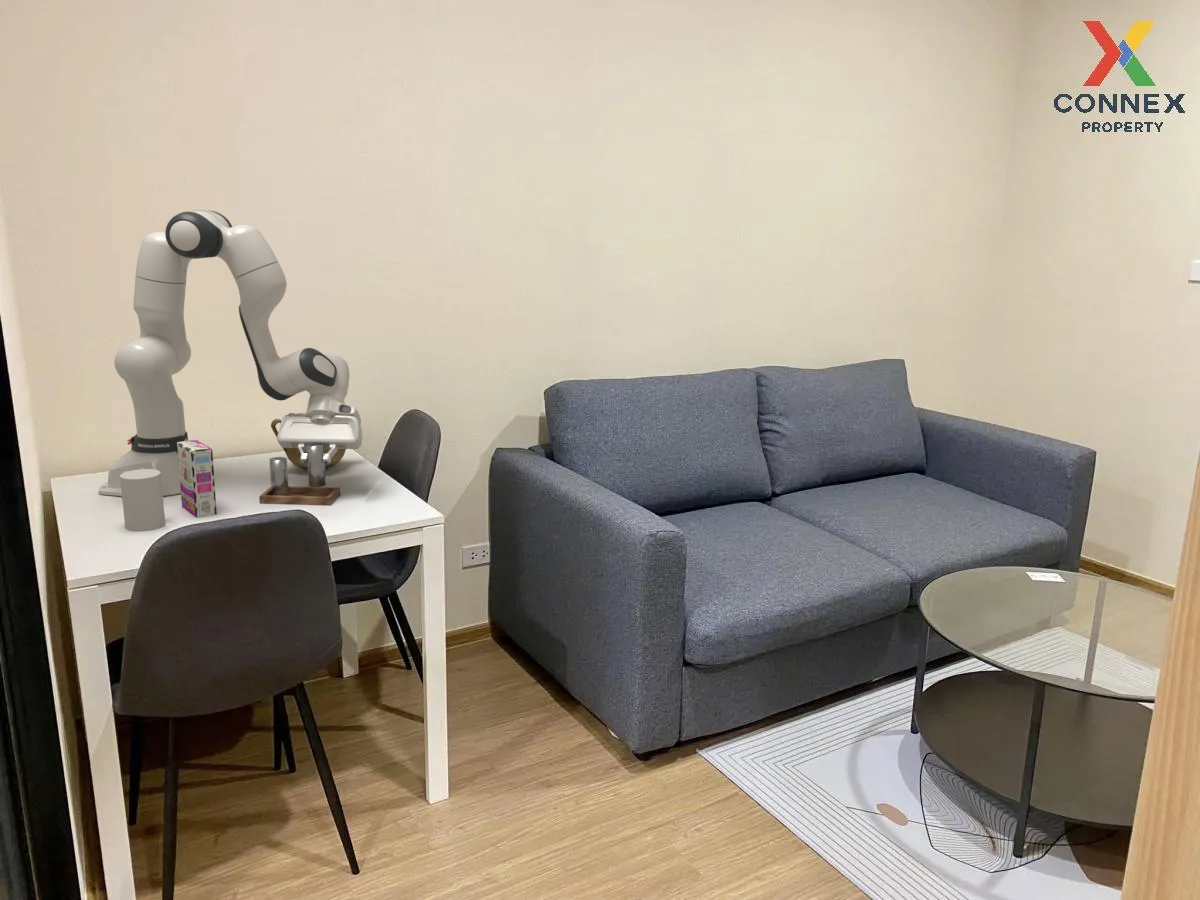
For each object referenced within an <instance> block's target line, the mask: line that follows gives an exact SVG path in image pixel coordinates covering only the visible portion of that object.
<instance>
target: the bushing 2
mask: <svg viewBox="0 0 1200 900" xmlns="http://www.w3.org/2000/svg"><path fill="white" fill-rule="evenodd" d="M306 448H307V464H308V471H307V479H308V487H326V484H327V482H326V480H327V479H326V470H325V463H324V462H323V455H324V445H323V444H320V443H314V444H308V445H306Z"/></svg>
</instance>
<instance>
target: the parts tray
mask: <svg viewBox="0 0 1200 900" xmlns="http://www.w3.org/2000/svg"><path fill="white" fill-rule="evenodd" d="M288 488H289V496H275V495H272V492H271V486H270V487H269V488H268V489H266V490H265V491H264V492H263V493H262V494H260V495H259V496H258V497H259V498H258V499H259V504H261V505H262V504H263V505H291V506H292V505H295V506H298V505H299V506H326V507H327V506H328V507H329V506H331V505H332V504H333V503H334V502H335V501H336V500H337V499H338V498H339V497H340V496H341V487H336V486H335V487H333V486H332V487H331V486H322V487H310V486H297V485H292V486H291V485H288Z"/></svg>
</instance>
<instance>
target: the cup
mask: <svg viewBox="0 0 1200 900" xmlns="http://www.w3.org/2000/svg"><path fill="white" fill-rule="evenodd" d="M120 483H121V492H122V496H121V499H122V508H123V509H122V510H123V518H124V528H125V530H127V531H130V532H147V531H153V530H154V531H155V530H157V529H160V528H163V527H164V526H165V525H166V517H165V506H164V496H163V493H162V483H161V472H160V471H158V470H154V469H139V470H132V471H128V472H124V473H122V474H121V475H120Z"/></svg>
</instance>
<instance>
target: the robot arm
mask: <svg viewBox="0 0 1200 900" xmlns="http://www.w3.org/2000/svg"><path fill="white" fill-rule="evenodd" d="M216 257H218V258H219V259H222V261H224V263H225V264H226V265H227V267H228V268H229V271H230V273H231V275H232V277H233V279H234V281H235V283H236V286H237V289H238V292H239V300H240V303H239V305H238V314H239V319H240V322H241V325H242V328H243V332H244V334H245V337H246V340H247V342H248V346H249V348H250V352H251V354H252V358H253V360H254V363H255V367H256V371H257V378H258V383H259V387H260V388H261V390H262V392H264V393H265V394H266V395H267V396H268V397H269V398H272V399H274V400H276V401H281V402H282V401H286V400H287V399H290V398H292V397H293V396H296V395H297V394H300V393H303V392H307V393H309V397H308V398H309V399H308V401H307V408H306V412H305V413H304V412H299V413H294V412H291V413H288V414H286V415H284V416H282V417H281V420H282V421H281V423H280V427H279V430H278V435H277V437H276V440H277V442H278V444H279V445H280V447H281V448H282V447H283V448H299V450H300V452H301V458H300V460H301V462H302V463H307V454H304V451H306V449H307V448H306V445H308V444H314V443H320V444H323V445H324V449H330V451H329V452H328V453H327V454H324V455H323V462H324V463H330V462H331V458H332V457H333V456H334V455H335V454H336V453H337V449H346V450H359V448H361V447H362V443H363V429H362V426H361V425H362V418H361V416H360V413H359V411H358V409H357V407H355V406H352V405H350V404H346V403H345V399H346V397H347V394H348V392H349V391H348V390H349V386H350V384H349V383H350V368H349V364H348V362H347V361H346V360H345V358H343V357H341V356H340V355H337V354H334V353H328V354H324V353H322V352H321V351H320V350H318V349H316V348H313V347H306V348H302V349H300V350H297V351H294V352H292V353H290V354H288V355H285V356H282V357H280V356H279V355H278V352H277V349H276V346H275V343H274V341H273V337H272V335H271V332H270V328H269V327H270V326H269V320H270V317H271V316H272V315H271V314H272V313H273V312H274V310H275V308H276V307H277V306H278V305H279V304H280V303H281V302H282V300H283V298H284V296H285V294H286V291H287V290H286V289H287V279H286V276H285V272H284V271H283V268H282V266H281V265H280V263H279V260H278V258H277V256H276V255H275V252H274V251H273V249H272V247H271V246H270V244H269V243H268V241H267V240H266V238H265V237H264V235H263V234H262V233H261V232H260V229H258V228H257V227H256V226H253V225H251V224H238V225H235V226H232V223H231V222H230V220H229V219H228V218H227V217H225V215H223V214H221V213H219V212H218V211H216V210H215V211H214V210H207V209H206V210H205V209H195V210H191V211H182V212H180V213H177V214H176V215H174V216H172V217H171V219H170V220H169V221H168V222H167V225H166V228H165V231H154V232H150V233H148V234H146V235H145V236H144V237H143V239H142V242H141V245H140V248H139V252H138V257H137V262H136V268H135V278H134V279H135V281H134V291H133V303H132V304H133V305H132V307H133V310H134V311H135V313H136V315H137V318H138V323H139V330H140V331H139V332H140V335H139V337H138V338H135V339H131V340H129V341H127V342H126V343H125V344H124V345H123V346H122V347H120V348H119V350H118V351H117V352H116V354H115V356H114V360H113V361H114V368H115V370H116V373H117V374H118V375H119V376H120V378H121V379H122V380H123V381H124V382H125V384H126V386H127V389H128V392H129V395H130V398H131V400H132V404H133V411H134V418H135V419H134V420H135V428H136V433H135V435H134V436H131V437H130V438H129V439H127V440H126V442H127V445H128V446H129V445H131V447H130V450H128V452H126V453H125V454H124V455H123V456H122V457H120V458H119V459H118V460H116V461H115V462H114V463H112V464H111V466H110V468H109V469H108V475H107V482H105V483H103V484H102V485H100V487H99V488H98V494H99V495H105V496H117V497H122V492H121V483H120V475H121V474H122V473H124V472H128V471H132V470H139V469H154V470H158V471H160V472H161V483H162V493H163V497H164V496H172V495H178V494H181V488H180V475H179V463H178V450H177V442H183V441H189V435H188V432H187V431H186V422H185V411H184V402H183V400H182V399H181V397H179V395H178V394H177V391H176V387H175V385H174V381H173V375H175V374H178V373H179V372H180V371H182V370H183V369H184V368H185V367H186V365H187V364H188V363H189V361H190V359H191V356H192V349H191V348H192V347H191V345H190V343H189V342H188V339H187V333H186V325H185V313H184V312H185V299H186V287H187V275H188V269H189V268H188V267H189V265H190V263H191V261H192V260H197V259H198V260H199V259H207V258H216ZM283 448H282V449H283Z"/></svg>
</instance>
